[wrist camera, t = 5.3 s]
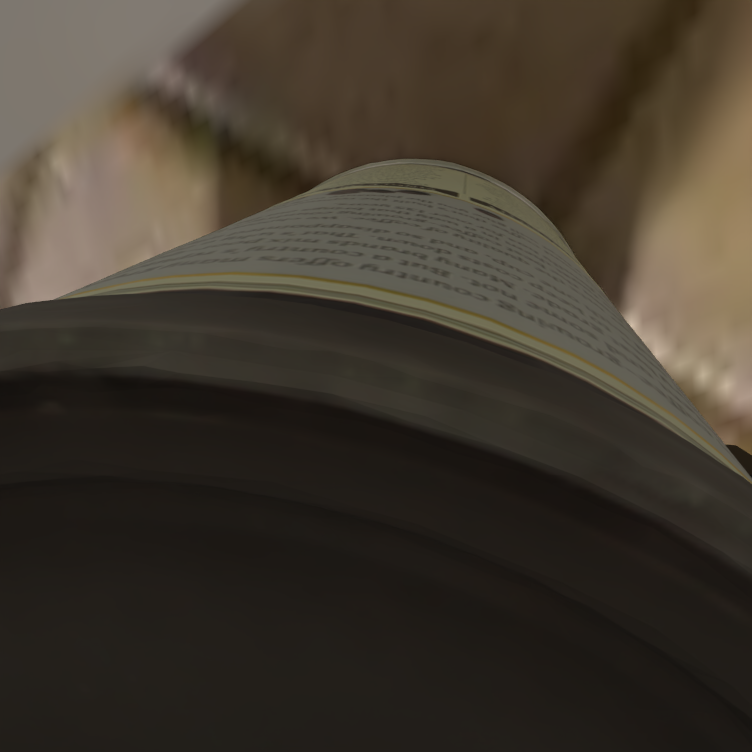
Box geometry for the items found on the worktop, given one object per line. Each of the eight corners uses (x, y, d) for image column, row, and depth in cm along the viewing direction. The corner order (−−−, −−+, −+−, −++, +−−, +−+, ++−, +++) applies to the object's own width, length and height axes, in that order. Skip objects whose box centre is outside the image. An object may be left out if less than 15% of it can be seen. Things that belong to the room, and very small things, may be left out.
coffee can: (655, 403, 17) (1218, 1274, 4) (360, 531, 20) (174, 1227, 8) (482, 66, 14) (590, -388, 1) (174, 277, 18) (-611, 701, 5)
